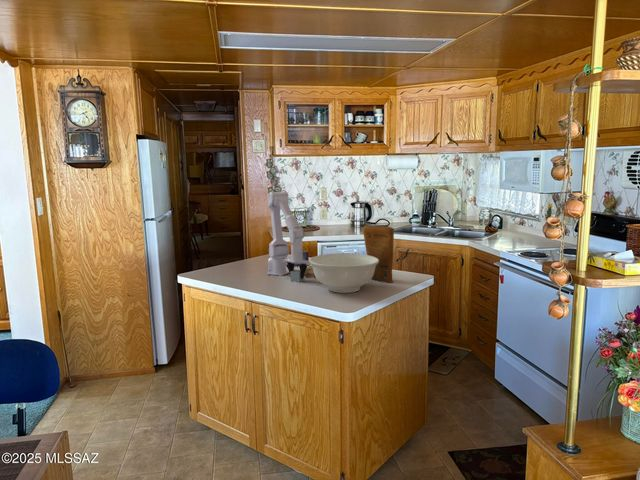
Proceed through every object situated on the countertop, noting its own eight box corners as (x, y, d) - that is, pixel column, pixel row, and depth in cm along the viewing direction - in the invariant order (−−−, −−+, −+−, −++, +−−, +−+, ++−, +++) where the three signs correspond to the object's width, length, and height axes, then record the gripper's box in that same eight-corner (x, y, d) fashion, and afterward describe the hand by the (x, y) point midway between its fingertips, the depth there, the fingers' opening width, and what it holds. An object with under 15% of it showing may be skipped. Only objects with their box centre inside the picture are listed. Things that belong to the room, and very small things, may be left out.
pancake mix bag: (388, 284, 231) (389, 228, 227) (361, 278, 246) (361, 224, 241) (397, 282, 236) (398, 226, 231) (369, 276, 250) (370, 223, 246)
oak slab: (303, 272, 249) (303, 268, 249) (308, 270, 254) (308, 266, 254) (313, 273, 247) (313, 269, 246) (317, 271, 252) (317, 267, 251)
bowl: (337, 277, 247) (337, 250, 244) (391, 287, 226) (391, 257, 224) (295, 290, 222) (295, 259, 220) (351, 302, 202) (352, 269, 199)
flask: (292, 266, 275) (292, 248, 274) (294, 265, 278) (294, 247, 276) (308, 267, 273) (308, 248, 271) (309, 266, 276) (309, 248, 274)
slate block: (290, 281, 240) (290, 271, 239) (295, 279, 244) (295, 269, 244) (299, 282, 238) (299, 272, 237) (303, 280, 242) (303, 270, 241)
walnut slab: (303, 277, 250) (303, 272, 249) (308, 275, 255) (308, 270, 255) (313, 278, 247) (313, 273, 247) (318, 276, 252) (318, 271, 252)
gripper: (280, 251, 238) (280, 278, 240) (306, 253, 232) (306, 280, 234) (287, 249, 244) (287, 275, 247) (312, 251, 238) (312, 277, 241)
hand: (297, 277), depth 241 cm, fingers closed on slate block, 5 cm apart
